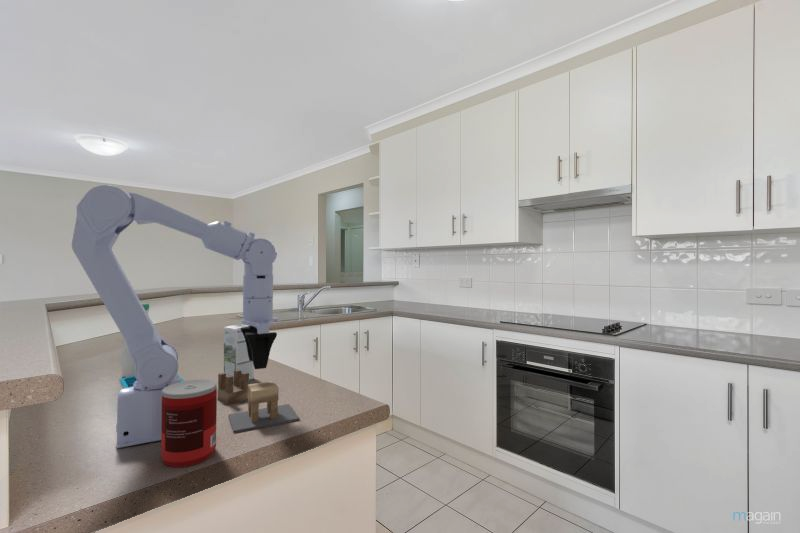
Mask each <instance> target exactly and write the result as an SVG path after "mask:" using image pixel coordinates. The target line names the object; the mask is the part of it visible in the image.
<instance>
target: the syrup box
mask: <svg viewBox="0 0 800 533" xmlns="http://www.w3.org/2000/svg"><path fill="white" fill-rule="evenodd" d="M248 326H249V325H244V324H232V325H228V326H224V327H223V373H226V376H233V383H234V370H241V373H245V372H247V373H249V381H250V380H253V379H255V368H254V364H253V361H250V360H249V357H248V352H247V346H246V341H245V338H244V335H243V333H242V331H241V329H240V328H241V327H248Z"/></svg>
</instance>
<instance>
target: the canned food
mask: <svg viewBox="0 0 800 533" xmlns="http://www.w3.org/2000/svg"><path fill="white" fill-rule="evenodd" d="M217 401H218V387H217V382H215V381H213V380H211V379H189V380H184V381H183V382H178V383H174V384H171V385H169V386H167V387H165V388H164V389H163V391H162V435H161V440H160V441H161V442H160V443H161V445H160V447H161V448H160V449H161V455H160V457H161V459H162V462H163V464H164V465H165V466H167V467H172V468H185V467H190V466H194V465H199V463H202V462H204V461H206V460H208V459H209V458H211V457H212V456H213V454H214V453H215V451H216V446H217V409H218V408H217V405H218V404H217Z"/></svg>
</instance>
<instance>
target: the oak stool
mask: <svg viewBox="0 0 800 533" xmlns="http://www.w3.org/2000/svg"><path fill="white" fill-rule="evenodd" d="M247 401H248V402H247V403H248V404H247V408H248V409H247V411H248V415H249V416H251V422H252V423H253V422H258V410H259V409H260V408H259V404H262V403H266V408H267V412H268V413H270V418H271V419H275V418H278V406H279V404H278V403H279V387H278V385H277V384H276V383H275V381H274V380H272V381H271V380H270V381H264V382H258V383H257V382H256V383H250V384H248V399H247Z"/></svg>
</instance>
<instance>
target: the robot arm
mask: <svg viewBox="0 0 800 533" xmlns="http://www.w3.org/2000/svg"><path fill="white" fill-rule="evenodd" d="M127 193H128V194H129V195H128V194H127ZM134 221H135V223H136V224H137V225H148V224H158V225H162V226H164V227H166V228H169V229H173V230H175V231H177V232H181V233H184V234H186V235H189V236H192V237H195V238H198V239H200V240H201V242H202V243H203V245H204V248H206V249H207V250H210V251H213V252H215V253H217V254H221V255H223V256H226V257H229V258H231V259H233V260H236V261H240V260H241V261H242V262H243V263H244V273H243V279H242V280H243V281H242V282H243V283H242V287H243V288H242V319H241V325H249V326H248V327H241V328H240V329H241V331H242V333H243V335H244V338H245V341H246V346H247V352H248V357H249V360H250V361H253V364H254V370H260V369H261V370H262V369H266V368H267V366H268V364H269V363H268V362H269V358H270V354H271V350H272V346H273V343H274V341H275V340H276V338H277V335H278V333H277V332H275V331H274V332H270V326H271V325H272V324H273V323H277V322H280V320H279V317H273V315H274V314H273V313H274V312H273V311H274V310H273V309H274V308H273V306H274V302H273V300H274V275H273V271H274V270H273V268H274V267H273V263H274V262H275V261H276V260H277V259H276V258H277V256H278V253H277V252H276V248H275V246H274V245H273V244H272V243H273V242H271V241H270V240H268V239H266V238H262V237H261V238H255V236H256V233H254V232H249V233H247V232H245V231H243V230H240V229H239V228H236V227H233V226H232V222H230V221H227V220H225V221H224V222H221V221H220V220H218V221H213V222H211V223H206V222H204V221H203V220H202V221H201V220H200V219H198V218H196V217H194V216H193V217H192V216H191V215H189V214H186V213H184V212H183V211H179V210H177V209H175V208H173V207H170V206H168V205H166V204H164V203H161V202H159V201H157V200H155V199H152V198H150V197H147V196H144V195H141V194H139V193H136V192H132V191H127V192H125V191H124V190H123V189H121V188H120V187H117V186H114V185H111V184H103V185H102V184H101V185H97V186H94V187H92V188H91V189H89V190H88V191H87V192H86V193H85V194H84V196H83V197H82V199H80V201H79V203H77V205H76V219H75V225H74V230H73V235H72V239H71V248H72V251H73V253H74V255H75V257H76V258H77V260H78V262H79V263H80V265H81V267H82V269H83V270H84V272H85V274H86V275H87V277H88V279H89V280H90V282H91V285H93V287H94V290H95V291H96V293H97V294H98V295H99V298H100V299H101V301H102V303H103V305H104V307H105V308H106V309H107V311H108V314H110V317H111V319H112V320H113V322H114V323H115V325H116V328H117V329H118V330H119V332H120V333H121V335H122V338H123V337H124V339H125V340H126V342H127V345H128V349H129V352H130V355H131V357H132V359H133V360H134V363H135V377H136V379H137V381H135V382H134V384H133V387H129V388H123V387H122V388H120V389H119V392H118V396H117V404H116V405H117V408H116V426H115V427H116V445H115V447H116V448H117V449H121V448H125V447H130V446H131V447H132V446H136V445H141V444H146V443H152V442H158V441H161V435H162V391H163V389H164V388H165V387H167V386H169V385H171V384H174V383H178V382H181V378H182V377H181V376H180V375H179V376H180V377H181V378H180V377H179V376H177V375H176V374H178V371H179V363H178V360H179V354H178V351H177V350H176V348H175V347H174V346H173V345H171V344H170V343H167V342H166V341H165V340H164V338H163V337H162V335H161V333H160V332H159V331H158V330H157V328H156V327H155V325H154V323H153V321H152V319H151V318H150V315H149V313H148V314H147V312H146V311H145V309H144V307H143V305H142V302H141V300H140V298H139V296H138V295H137V293H136V291H135V289H134V287H133V286H132V284H131V282H130V280H129V279H128V277H127V275H126V273H125V271H124V270H123V267H122V266H121V264H120V263H119V261H118V259H117V256H115V254H114V252H113V250H112V249H113V247H114V245H115V243H116V242H117V239H118V238H119V236H120V234H121V233H122V232H123V231H124V230H126V229H127V228H128V227H129V226H130V225H131V224H132V223H133V222H134ZM148 315H149V316H148Z"/></svg>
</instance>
